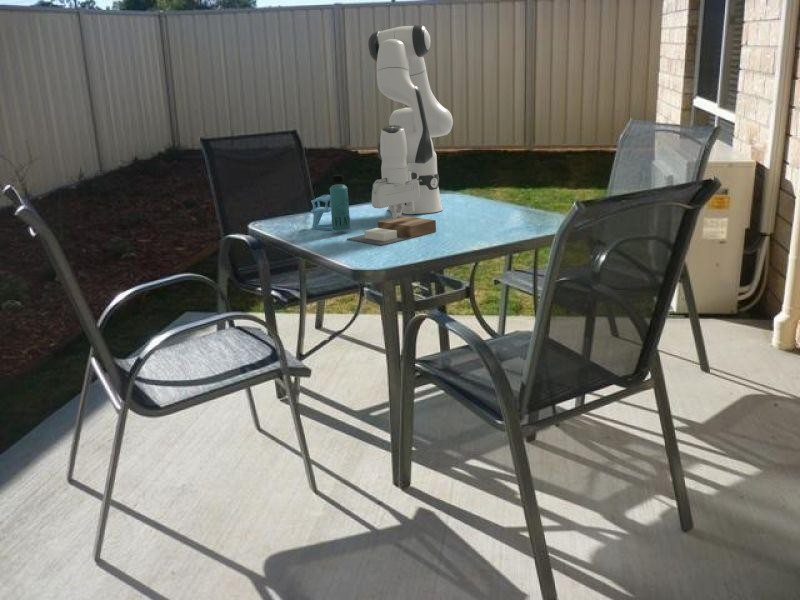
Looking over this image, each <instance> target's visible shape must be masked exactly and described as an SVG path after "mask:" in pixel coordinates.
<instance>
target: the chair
mask: <svg viewBox="0 0 800 600" xmlns="http://www.w3.org/2000/svg"><path fill="white" fill-rule="evenodd" d="M310 202H311V204H312V209H311V210H310V212H311V214H312V215H313V217H312V218H313V220H312V224H311V225H312V226H311V229H312V230H320V231H322V230H323V231H334V230H333V228H332V223H326V224H325V223H324V224H320V222H321V219H322V217H323V215H324V213H331V200H330V194H322V195H320V196H319V197H316V198H314V199H313V200H310ZM320 202H323V203H325V205H324V206H321V203H320ZM328 202H329V206H328ZM315 203H317V207H316V205H315Z"/></svg>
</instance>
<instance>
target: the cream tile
mask: <svg viewBox="0 0 800 600" xmlns="http://www.w3.org/2000/svg"><path fill="white" fill-rule="evenodd" d="M364 234H365V238H367V239H374V240H380V241H387V240H390V239H394V238H397V231H396V230H389V229H382V228H378V227H375V228H371V229H366V230H364Z"/></svg>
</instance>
